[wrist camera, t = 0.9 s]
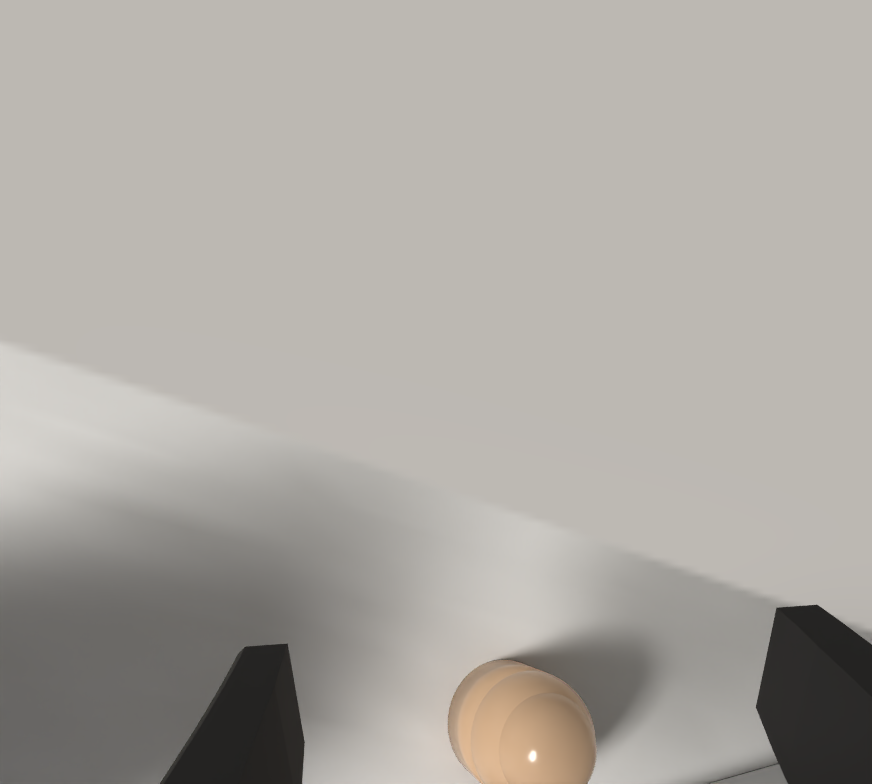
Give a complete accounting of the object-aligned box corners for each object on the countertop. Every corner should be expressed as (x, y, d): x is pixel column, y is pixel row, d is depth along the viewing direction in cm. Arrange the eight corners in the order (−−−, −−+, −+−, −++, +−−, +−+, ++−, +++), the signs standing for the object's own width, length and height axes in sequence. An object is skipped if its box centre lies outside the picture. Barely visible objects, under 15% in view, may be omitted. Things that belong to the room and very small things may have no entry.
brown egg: (564, 768, 24) (641, 817, 20) (456, 795, 23) (511, 855, 19) (545, 649, 25) (615, 671, 20) (439, 671, 24) (489, 699, 19)
